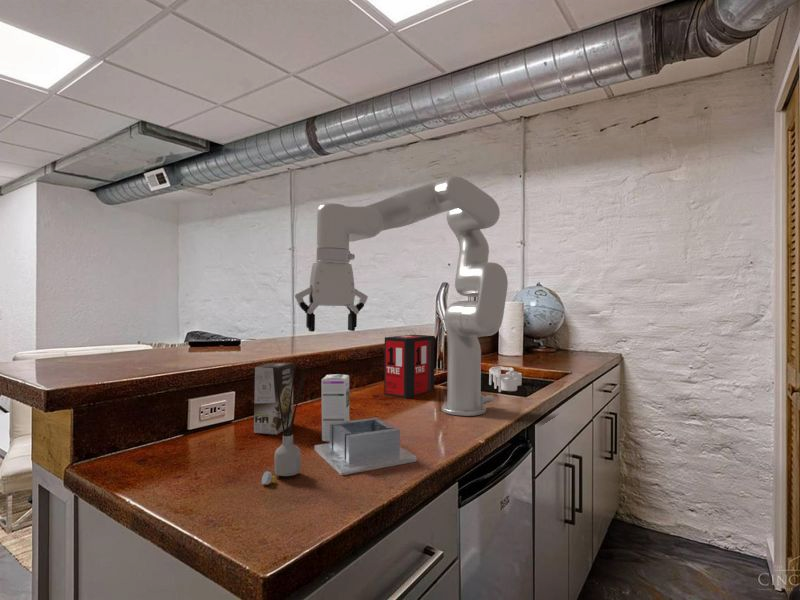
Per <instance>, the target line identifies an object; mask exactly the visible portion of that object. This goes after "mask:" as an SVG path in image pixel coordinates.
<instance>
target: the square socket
mask: <svg viewBox="0 0 800 600" xmlns="http://www.w3.org/2000/svg"><path fill="white" fill-rule="evenodd" d="M400 443H401V430H400V429H399V428H397V427H395V426H394V425H391V424H389V423H388V422H386V421H384V420H382V419H380V418H379V417H370V418H362V419H354V420H350V421H345V422H337V423H330V442H327V443H321V444H315V445H314V451H315V452H316V453H317V454H318V455H319V456H320V457H322V459H323V460H324V461H325V462H326V463H327V464H328V465H329V466H331V468H333V469H334V470H335V471H336V472H337V473H338V474H339V475H340V476H345V475H346V476H347V475H351V474H355V473H362V472H363V473H364V472H367V471H373V470H377V469H384V468H387V467H388V468H389V467H395V466H400V465H404V464H409V463H410V464H411V463H416V462H418V461H417V460H418V459H417V456H416V454H413V453H412V452H410V451H408V450H407V449H405V448H404V447H401V445H400Z"/></svg>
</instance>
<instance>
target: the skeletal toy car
mask: <svg viewBox="0 0 800 600" xmlns="http://www.w3.org/2000/svg"><path fill="white" fill-rule="evenodd" d="M488 370H489V371H488V372H489V373H488V374H489V375H488V376H489V377H488V378H489V379H488V385H489V386H492V382H493V384H494V386H493V387H494V389H497V386H498V392H499V393H501V392H502V391H504V392H505V391H506V392H516V391H518V386H519V387H520V386H522V383H523V382H522V381H523V379H522V377H523V376H522V375H523V374H522V373H521V372H517V371H515V370H514V368H513V367H508V366H507V367H506V366H501V365H500V366H499V365H498V366H497V365H496V366H491V367H490V368H489V369H488ZM502 370H503V371H507V372H505V373H502Z"/></svg>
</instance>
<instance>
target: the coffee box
mask: <svg viewBox="0 0 800 600" xmlns="http://www.w3.org/2000/svg"><path fill="white" fill-rule="evenodd" d="M275 371H276V373H277V380H278V387H279V395H280V402H281V409H282V416H283V423H284V430H285V431H286V426H287V419H288V411H289V403H290V396H291V388H292V380H293V373H294V362H270V363H266V364H261V365H257V366H255V367H254V398H253V399H254V401H253V403H254V404H253V405H254V407H253V408H254V409H253V410H254V411H253V413H254V414H253V415H254V416H253V433H254V434H265V435H274V434H275V435H279V434H280V433H282V432H283V427H282V420H281V413H280V405H279V398H278V391H277V384H276V377H275ZM293 413H294V390H293V391H292V399H291V407H290V414H289V422H288V428H290V424H291V420H292V417H293Z"/></svg>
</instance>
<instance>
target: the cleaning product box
mask: <svg viewBox="0 0 800 600" xmlns="http://www.w3.org/2000/svg"><path fill="white" fill-rule="evenodd" d="M383 365H384V367H383V368H384V371H383V372H384V378H383V379H384V380H383V381H384V384H383V388H384V390H383V391H384V392H383V394H384V395H385V396H389V397H394V398H401V399H403V400H404V399H410V398H413V397H416V396H418V395H419V396H420V395H422V394H425V393H428V392H433V391H435V335H425V334H408V335H407V334H406V335H395V336H385V337H384V363H383ZM384 395H383V396H384Z"/></svg>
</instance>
